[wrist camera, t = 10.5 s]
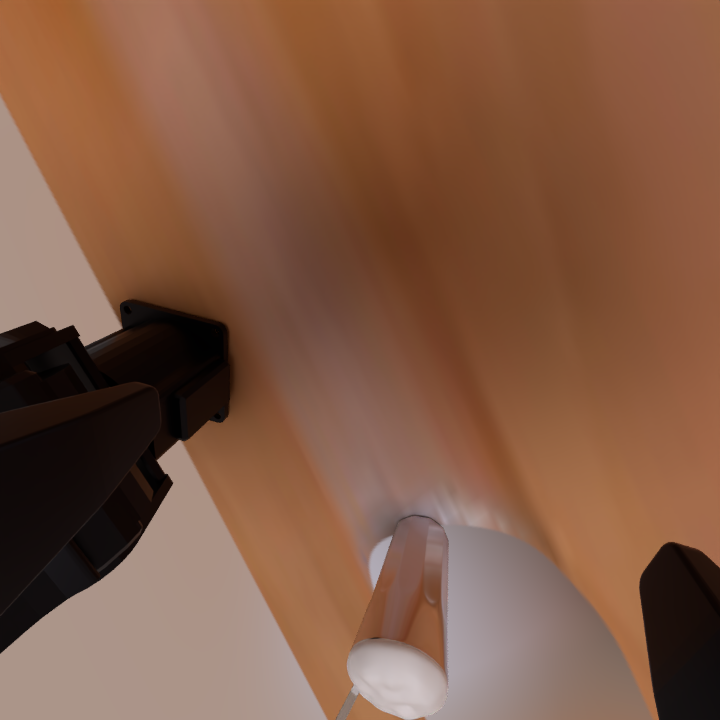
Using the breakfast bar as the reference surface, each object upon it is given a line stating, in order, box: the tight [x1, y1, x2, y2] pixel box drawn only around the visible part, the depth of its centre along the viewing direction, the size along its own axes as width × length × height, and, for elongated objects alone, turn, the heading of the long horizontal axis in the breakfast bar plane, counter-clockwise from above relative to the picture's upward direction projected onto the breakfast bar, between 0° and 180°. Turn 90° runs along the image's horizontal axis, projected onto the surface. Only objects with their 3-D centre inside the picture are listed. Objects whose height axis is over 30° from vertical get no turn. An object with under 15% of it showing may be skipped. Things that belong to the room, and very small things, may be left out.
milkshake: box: [336, 516, 449, 720], centre depth 21 cm, size 4×5×10 cm
